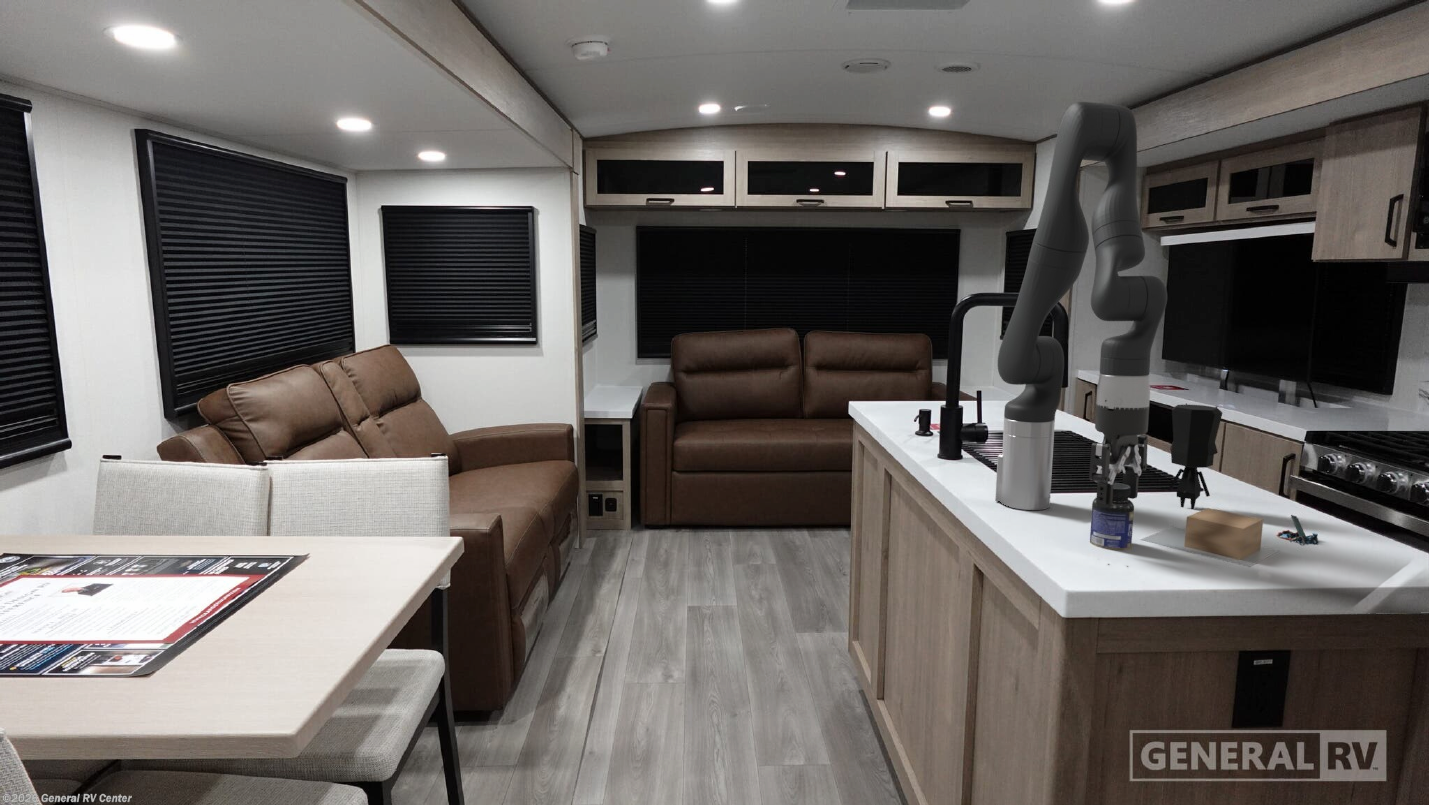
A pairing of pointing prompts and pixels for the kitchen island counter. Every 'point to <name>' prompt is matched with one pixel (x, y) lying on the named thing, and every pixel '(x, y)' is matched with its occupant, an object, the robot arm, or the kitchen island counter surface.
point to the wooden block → (1223, 533)
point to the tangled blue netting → (1298, 534)
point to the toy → (1193, 447)
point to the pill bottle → (1113, 521)
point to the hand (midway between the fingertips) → (1116, 502)
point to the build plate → (1176, 540)
